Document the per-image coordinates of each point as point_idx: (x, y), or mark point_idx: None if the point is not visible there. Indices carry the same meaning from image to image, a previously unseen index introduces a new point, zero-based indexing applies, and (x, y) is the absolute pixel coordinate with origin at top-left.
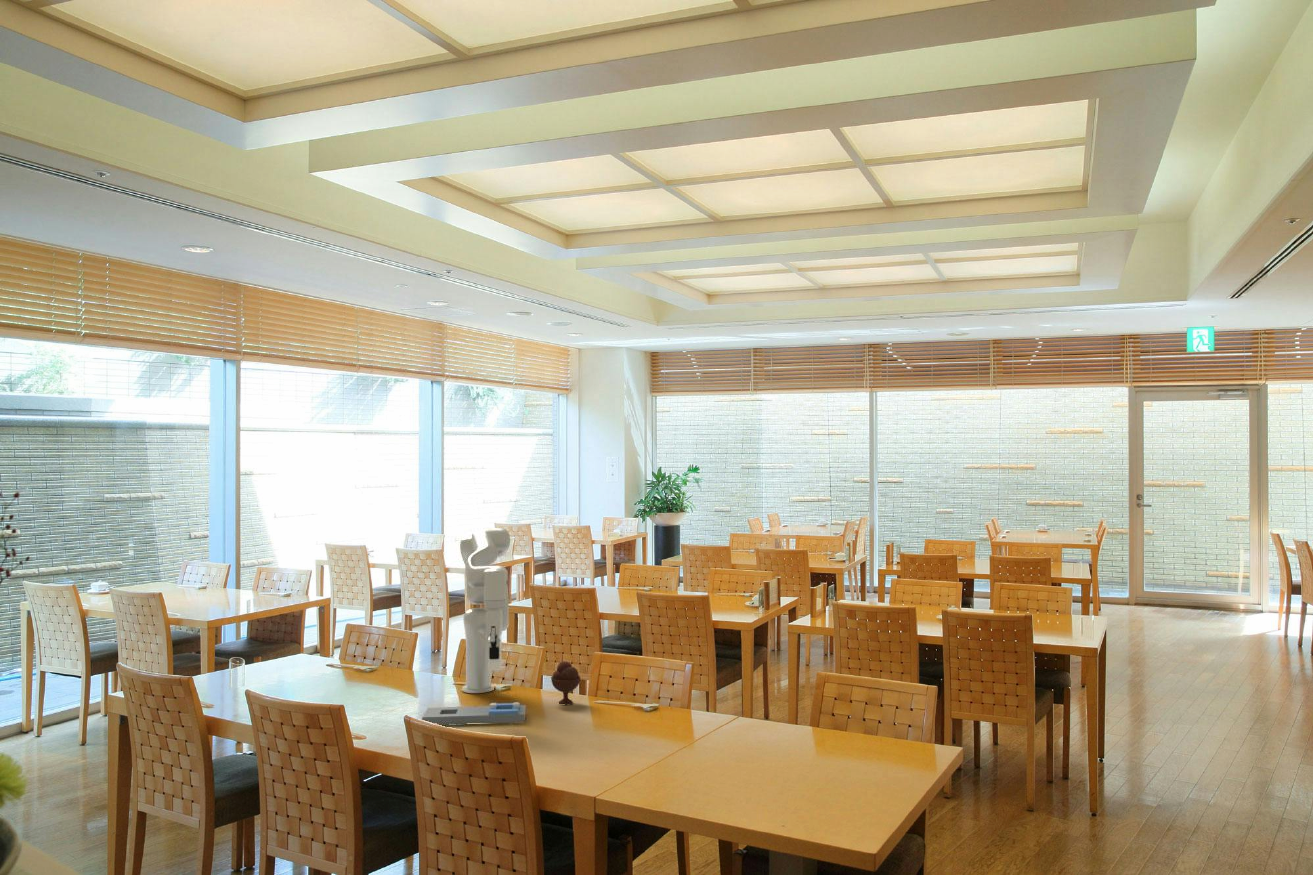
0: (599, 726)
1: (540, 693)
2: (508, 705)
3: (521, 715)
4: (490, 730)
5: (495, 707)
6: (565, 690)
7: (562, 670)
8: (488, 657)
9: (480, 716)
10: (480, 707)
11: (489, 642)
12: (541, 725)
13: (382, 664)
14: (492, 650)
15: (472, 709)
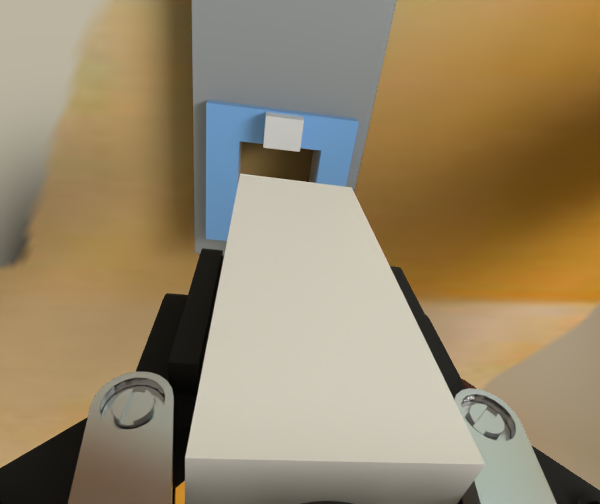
0: None
1: (576, 300)
2: None
3: (195, 241)
4: (94, 96)
5: (263, 142)
6: None
7: None
8: (227, 241)
9: (192, 52)
10: (357, 58)
11: (185, 457)
12: (163, 286)
13: None
14: (141, 365)
15: (329, 6)
